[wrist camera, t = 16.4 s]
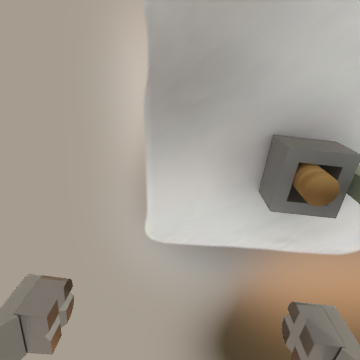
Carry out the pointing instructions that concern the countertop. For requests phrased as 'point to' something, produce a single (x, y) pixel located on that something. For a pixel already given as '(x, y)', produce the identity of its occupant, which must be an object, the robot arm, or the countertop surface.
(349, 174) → the socket
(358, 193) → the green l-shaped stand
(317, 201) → the peg
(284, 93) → the countertop surface
